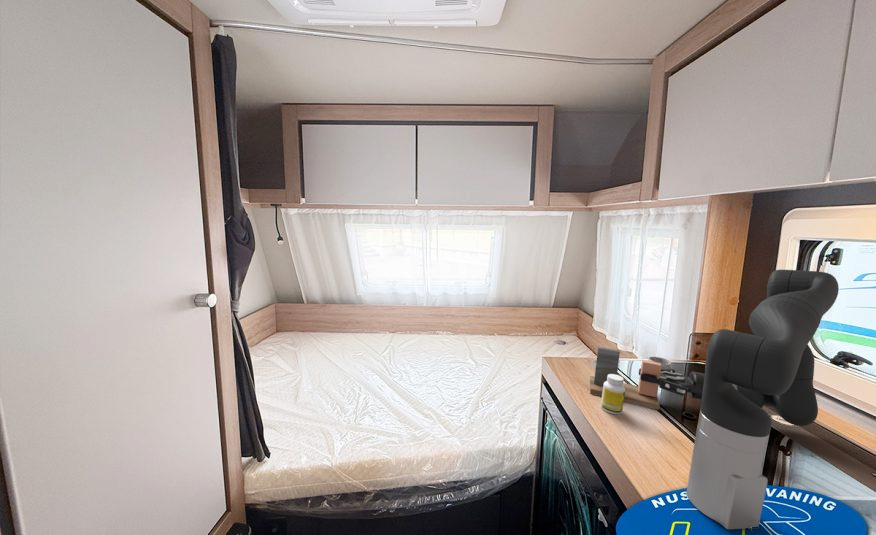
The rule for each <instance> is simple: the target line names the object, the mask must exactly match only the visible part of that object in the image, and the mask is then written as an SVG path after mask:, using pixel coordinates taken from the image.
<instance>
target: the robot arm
mask: <svg viewBox="0 0 876 535" xmlns="http://www.w3.org/2000/svg"><path fill="white" fill-rule="evenodd" d="M766 286H767V287H766V297H767V298H765V299H764V300H762V301H760V303H758V305H757V306H756V307H755V308H754V309H753V311H752V312H751V313H750V315H749V319H748V324H749V326H750V330H751V332H752V333H753V334H749V333H744V332H741V331H736V330H731V329H725V328H721V329H718V330H716V331H714V333H713V334H712V335H711V337H710V339H709V342H708V345H707V350H706V355H705V356H706V357H705V365H704V366H705V367H704V373H702V372H698V371H691V372H689V374H688V375H685V374H684V375H683V374H682V373H680V372H676V370H675V369H673V368H671V369H661V373H660V374H661V375H660V376H657V377H656V375H651V374H646V373H641V377H640V372H641V367H640V368H639V369H638V375H639V379H641V380H642V381H646V382H651V383H656V385H658V388H659V389H662V390H664V391H668V392H669V393H673V394H676V395H678V396H682V397H686V393H688V394H687V395H688V396H689V397H690V399H693V400H696V401H697V400H698V401H701V402H700V409H699V415H698V419H697V420H698V422H697V427H696V432H695V438H694V444H693V450H692V455H691V462H690V468H689V473H688V482H687V486H686V496H687V498H688V500H689V501H690V502H691V504H692V505H693V506H694V507H695V508H696V509H697V510H698V511H700V512H701V513H703V515H705V516H707V517H708V518H710V519H711V520H714V521H715V522H717V523H719V524H720V525H721V526H723V527H724V528H725V529H726V530H744V529H745V530H747V529H746V528H748V529H752V528H751V527H757V526H758V527H759V526H760V520H761V515H762V511H763V507H764V501H765V496H766V491H767V486H768V478H767V477H766V476H764V474H762V473H763V468H764V464H765V459H766V458H765V457H766V453H767V447H768V443H769V438H770V434H771V428H772V423H773V422H772V419H771V416H770V415H769V413H768V412H767V411H766V410H764V409H763V407H770V408H773V409H774V410H775V412H776V413H777V414H778V416H780V418H781V419H783V420H784V421H785V422H787V423H788V424H790V425H792V426H797V427H806V426H809V425H811V424H813V423H814V422H815V421H816V420H817V417H818V414H819V407H818V400H817V395H816V391H815V387H814V382H813V381H814V375H815V374H814V372H815V355H814V352H813V351H812V348H811V347H810V346H809V343H810V341H812V339H813V337H814V336H815V334H816V332H817V330H818V329H819V326H820V325H821V322H822V318H823V316H824V315H825V314H826V313H827V312H828V311H829V310H830V309H831V308H832V307H833V306H834V304H835V303H836V300H837V298H838V295H839V283H838V280H837V278H836V277H835V276H834V275H833V274H831V273H829V272H826V271H825V272H824V271H817V270H816V271H815V270H802V269H801V270H799V269H798V270H796V269H795V270H793V269H776V270H774V271H772V272H771V273H770V276H769V278H768V281H767V285H766Z"/></svg>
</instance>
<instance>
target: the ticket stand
mask: <svg viewBox="0 0 876 535" xmlns="http://www.w3.org/2000/svg"><path fill="white" fill-rule="evenodd" d="M596 352H597V353H596V360H595V361H596V367H595V371H594V376H593V375H590V377H589V394H591V395H596V396H598V397H599V396H600V397H602V392H603V385H604V382H606V381H607V376H608V374H615V375H618V372H619V371H618V369H619V362H620V356H621V351H620V350H618V349H614V348H608V347H603V346H597V351H596ZM623 386H624V387H625V394H624V402H625V403H629V404H633V405H637V406H642V407H646V408H650V409H654V410H658V411H659V410H660V407H661V405H660V402H659V399H658V396H657V397H653V396H648V395H644V394H639V392H638V386H639V385H634V384H629V383H625V382H623ZM624 402H623V403H624Z"/></svg>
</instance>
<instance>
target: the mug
mask: <svg viewBox="0 0 876 535" xmlns="http://www.w3.org/2000/svg"><path fill="white" fill-rule="evenodd" d="M647 361H652V362H657V363H660V364H661V365H662V366H661V369H672V361H670V360H668V359H666V358H663V357H659V356H649V357H648V359H647ZM660 375H661V374H660Z"/></svg>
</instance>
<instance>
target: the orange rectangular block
mask: <svg viewBox="0 0 876 535" xmlns="http://www.w3.org/2000/svg"><path fill="white" fill-rule="evenodd" d="M661 366H662V365H661V364H660V363H657V362H652V361H648V360H646V359H645V360H644V359H642V360H641V365H640V368H641V372H640V375H639V381H638V385H637V386H638V392H639V394H644V395H648V396H653V397H657V398H658V393H659V392H658V391H659V386H658V385H656V383H651V382H646V381H642V380H641V379H640V377H641V373H646V374H651V375H656V377H657V376H660V373H661Z"/></svg>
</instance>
